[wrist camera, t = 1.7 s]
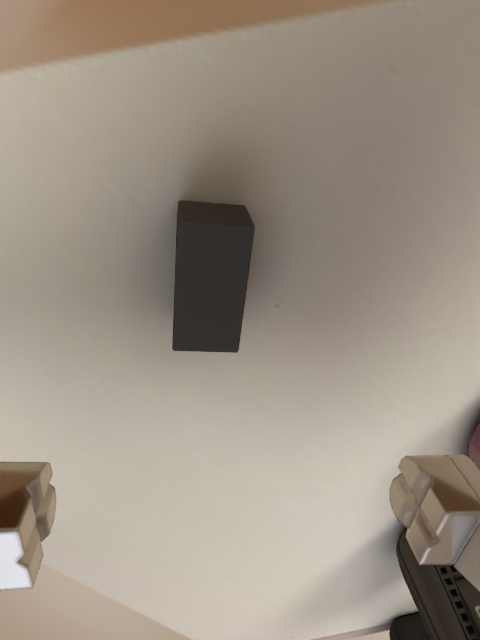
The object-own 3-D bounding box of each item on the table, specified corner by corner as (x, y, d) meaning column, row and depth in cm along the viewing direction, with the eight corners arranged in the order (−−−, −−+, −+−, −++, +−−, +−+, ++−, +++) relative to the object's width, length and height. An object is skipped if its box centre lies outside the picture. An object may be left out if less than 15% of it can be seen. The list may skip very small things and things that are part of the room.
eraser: (178, 199, 18) (177, 219, 15) (245, 205, 18) (255, 225, 16) (174, 318, 21) (172, 351, 18) (232, 320, 21) (238, 353, 19)
